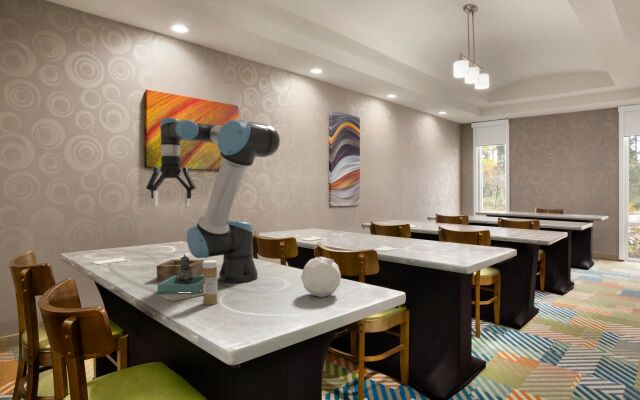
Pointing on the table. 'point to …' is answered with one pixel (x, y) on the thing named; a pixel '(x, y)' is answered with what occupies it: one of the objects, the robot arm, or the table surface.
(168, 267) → the wooden crate
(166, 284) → the tray
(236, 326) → the table surface
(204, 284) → the sprinkles bottle
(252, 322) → the table surface
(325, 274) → the geodesic sphere
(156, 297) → the table surface
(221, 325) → the table surface
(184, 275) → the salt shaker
